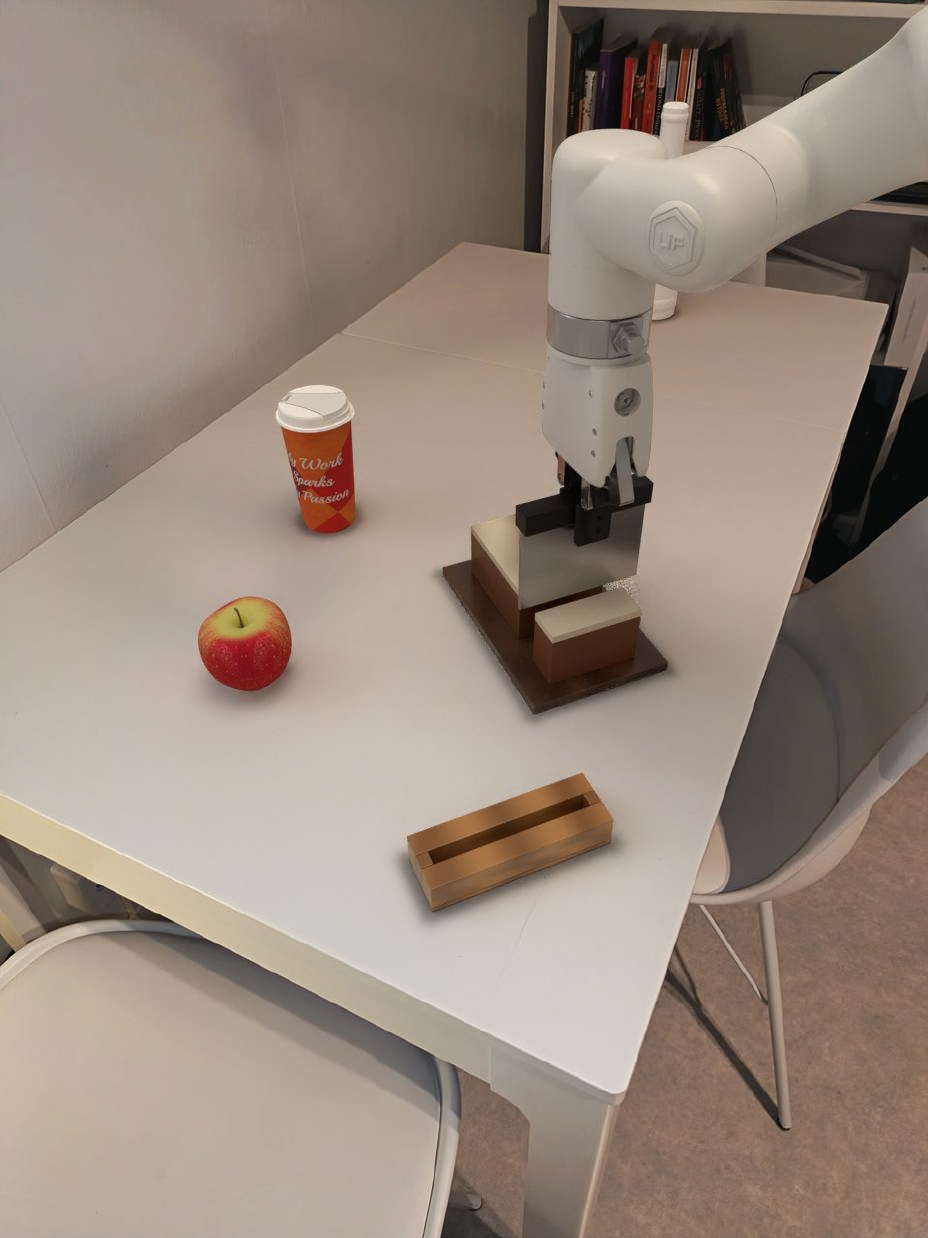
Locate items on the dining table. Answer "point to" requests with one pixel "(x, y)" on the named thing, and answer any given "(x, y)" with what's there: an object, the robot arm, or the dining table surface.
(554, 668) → the cake slice
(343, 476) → the coffee cup
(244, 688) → the apple
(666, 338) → the dining table surface
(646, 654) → the cake
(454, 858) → the knife block
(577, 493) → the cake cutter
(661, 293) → the bottle
